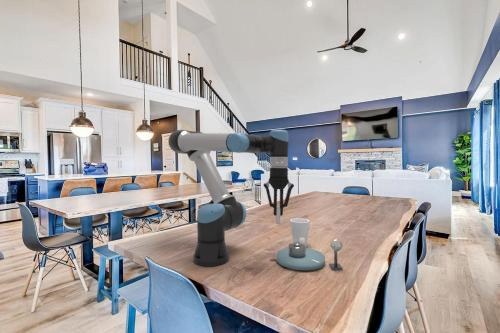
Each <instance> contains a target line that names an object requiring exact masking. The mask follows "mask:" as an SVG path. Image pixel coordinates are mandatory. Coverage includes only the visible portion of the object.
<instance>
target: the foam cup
mask: <svg viewBox="0 0 500 333" xmlns="http://www.w3.org/2000/svg"><path fill="white" fill-rule="evenodd" d="M289 222H290V223H289V224H290V230H291V235H292V236H291V238H292V243H294V242H299V238H305V246H306V247H307V245H308V240H309V231H310V226H311V221H310V219H307V218H303V217H301V218H291V219H290V220H289Z"/></svg>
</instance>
